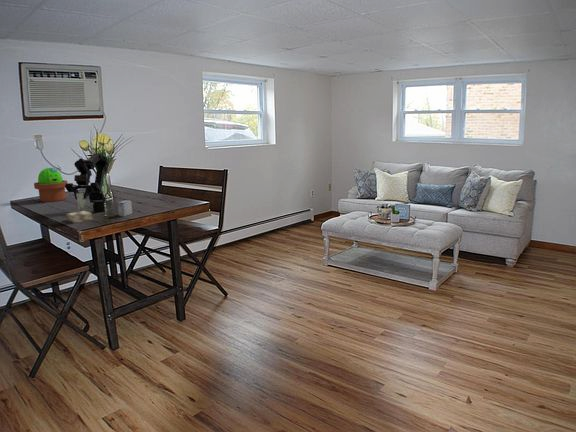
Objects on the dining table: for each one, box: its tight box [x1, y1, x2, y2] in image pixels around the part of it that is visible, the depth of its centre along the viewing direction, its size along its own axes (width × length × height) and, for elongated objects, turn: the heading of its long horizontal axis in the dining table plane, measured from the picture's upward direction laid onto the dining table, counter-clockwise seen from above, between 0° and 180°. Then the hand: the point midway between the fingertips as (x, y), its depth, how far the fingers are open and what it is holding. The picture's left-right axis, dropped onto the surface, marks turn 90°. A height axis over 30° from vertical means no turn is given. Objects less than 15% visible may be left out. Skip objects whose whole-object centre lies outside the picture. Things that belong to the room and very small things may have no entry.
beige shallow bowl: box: [66, 210, 94, 224], centre depth 264 cm, size 11×11×4 cm
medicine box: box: [117, 199, 133, 217], centre depth 274 cm, size 8×4×9 cm, turn 163°
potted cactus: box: [33, 167, 68, 203], centre depth 329 cm, size 22×22×25 cm
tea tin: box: [76, 191, 87, 211], centre depth 259 cm, size 5×5×10 cm
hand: (80, 199), depth 257 cm, fingers closed on tea tin, 4 cm apart
